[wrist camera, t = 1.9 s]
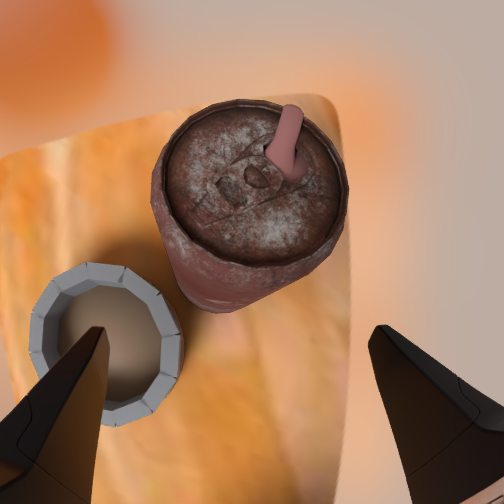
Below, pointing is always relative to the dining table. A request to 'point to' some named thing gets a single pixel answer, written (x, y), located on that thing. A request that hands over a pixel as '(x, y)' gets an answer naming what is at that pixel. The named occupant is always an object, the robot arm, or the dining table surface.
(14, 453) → the robot arm
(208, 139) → the can
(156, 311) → the segmented gray ring
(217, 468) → the dining table surface
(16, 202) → the dining table surface
